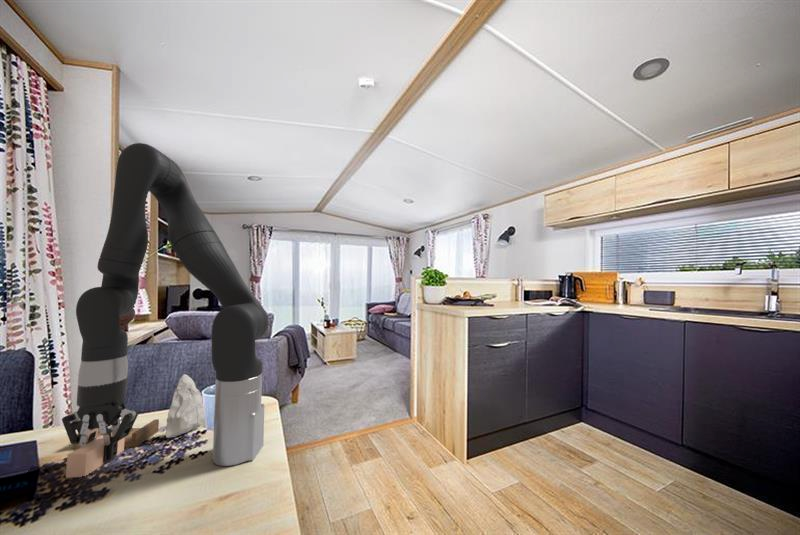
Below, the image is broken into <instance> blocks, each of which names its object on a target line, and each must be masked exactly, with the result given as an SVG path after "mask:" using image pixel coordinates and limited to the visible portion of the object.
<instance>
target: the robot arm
mask: <svg viewBox="0 0 800 535" xmlns="http://www.w3.org/2000/svg"><path fill="white" fill-rule="evenodd" d="M115 170H116V171H115V177H114V178H115V181H114V188H113V197H112V207H111V208H112V209H111V215H110V220H109V221H110V222H109V227H108V230H107V235H106V238H105V241H104V243H103V246H102V250H101V252H100V256H99V258H98V262H97V270H98V271H99V272H100V273H101V274H102V280H101V286H97V287H92V288H88V289H87V290H86V291H84V292H83V293H82V294H81V295H80V297H79V298H78V300H77V303H76V307H75V316H76V321H77V325H78V329H79V334H80V336H81V338H82V344H81V356H80V358H81V359H80V366H79V370H78V374H77V376H78V378H77V392H76V393H77V394H76V406H77V407H78V409H77V411H75V412H72V413H70V414H68V415H66V416H63V417H62V419H61V421H62V424H63V427H64V429H65V431H66V435H67V438H68V440H69V442H70V444H72V445H73V444H74V443H79V445H80V446H84V445H85V444H87V443H89V442H91V441H93V440H94V439H96V437H97V434H98V430H99V429H100V435H103V440H104V444H105V446H104V454H103V463H105V464H107V463H110V462H111V461H112V460H113V459H115V458H116V456H118V455H117V448H118V441H119V440H121V439H123V438H124V437H126V436H127V435H129V433H130V431H131V428H133V427H132V426H134V424H135V422H136V420H137V418H138V416H139V413H140V411H139V409H134V410H131V409H127V407H126V404H125V398H126V396H127V390H128V389H127V388H128V371H129V363H128V346H129V344H128V340H129V337H128V336H129V335H128V333H127V331H126V330H123V329H122V328H121V327H122V326H121V317H123V316H125V315H126V314H128V313H129V312H130V311H132V309H133V308H134V306H135V305H136V303H137V299H138V295H139V286H140V271H141V269H142V265H143V263H144V258H145V256H146V252H147V250H148V244H149V232H148V226H147V219H146V202H147V197H148V194H149V193H151V194H152V196H153V197H154V198H155V199H156V201H157V202H158V204H159V205H160V207H161V208H162V210H163V211H164V213H165V215H166V219H167V234H168V236H167V237H168V240H169V244H170V245H171V247H172V249H173V251H174V252H175V254H176V256H177V258H178V260H179V261H180V263H181V264H182V265H183V267H184V268H185V270H186V271H188V273H190V275H192V276H193V278H195V279H196V280H197V281H198V282H199V283H201V284H202V285H203V286H205V288H207V289H208V290H209V291H210V292H211V293H212V294H213V295H214V296H215V298H216V299H217V300H218V302H219V303H220V305H221V307H222V308H221V309H220V310H219V311H218V312H217V313H216V315H215V317H214V319H213V322H212V326H211V327H212V328H211V363H212V366H213V369H214V371H215V388H214V390H215V391H214V392H215V393H214V414H213V440H212V441H213V442H212V443H213V444H212V462H213V463H214V465H216V466H221V467H222V466H223V467H229V466H234V465H235V466H236V465H240V464H242V463H244V462H247V461H254V459H255V458H256V456H257V455H258V454H259V452H260V450H261V449H262V448H263V447H264V435H265V433H264V431H265V403H262V393H263V392H262V391H263V390H262V389H263V387H262V384H263V361H262V359H261V358H258V357H257V355H256V341H257V340H259V339H261V338H262V337H263V336H265V334H266V333H267V331H268V329H269V325H270V324H269V322H270V321H269V317H268V316H269V315H268V314H267V311H266V310H265V308H264V307H263V306H262V304H261V303H260V301H259V300H258V299H257V298H256V296H255V295H254V293H253V292H252V291H251V290H250V288H249V287H248V286H247V284H246V282H245V281H244V279H243V277H242V276H241V274H240V273H239V271H238V269H237V267H236V264H234V261H232V258H231V257H230V255H229V253H228V251H227V249H226V247H225V246H224V244H223V243H222V241H221V239H220V237H219V236H218V234H217V233H216V231H215V230H214V228H213V227H212V225H211V223H210V222H209V220H208V218H207V216H206V215H205V213H204V212H203V210H202V209H201V207H200V206H199V205H198V202H197V201H196V199H195V197H194V195H193V193H192V191H191V188H190V186H189V184H188V182H187V179H186V176H185V175H184V173H183V171H182V169H181V167H180V166H179V165H178V164H177V163H176V162H175V161H174V160H172V159H171V158H170V157H169V156H167V155H166V154H164V153H162V151H160V150H158V149H157V148H155V147H154V146H152V145H150V144H147V143H141V142H139V143H138V142H137V143H132V144H130V145H127V146H126V147H125V148H124V149H123V150H122V151H121V153H120V154H119V156H118V160H117V163H116V169H115ZM120 417H121V418H120ZM111 433H112V437H111ZM77 434H79V435H78V436H77Z"/></svg>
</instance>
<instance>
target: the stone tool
mask: <svg viewBox="0 0 800 535" xmlns="http://www.w3.org/2000/svg"><path fill="white" fill-rule="evenodd" d="M201 393H202V392H200V390H199V389H197V387H196V383H195V381H194V380H193V379H192V377H190V376H189V375H187V374H185V373H184V374H182V376H181V377H180V378H179V381H178V383H177V386H176V387H175V390H174V392H173V396H172V399H171V405H170V408H169V410H168V413H167V418H166V426H165V438H167V439H171V438H176V437H177V436H181V435H183V434H188V433H189V432H190V431H192V430H196V429H197V428H200V427H201V426H202V425H203V423H204V421H205V419H204V417H205V412H204V411H205V409H204V408H205V406H204V407H203V404H204V397H203V396H202V394H201ZM202 397H203V398H202Z"/></svg>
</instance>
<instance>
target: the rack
mask: <svg viewBox="0 0 800 535" xmlns="http://www.w3.org/2000/svg"><path fill="white" fill-rule="evenodd" d="M159 425H160V419H153V420H152V421H150V422H149V423H146V424H145V425H144V426H142V427H135V428H134V427H133V426H134V425H133V426H132V428H131V431H130V433H129V435H127V436H126V437H125V441H124V448H131V447H138V446H140V444H142V443H144V442H145V441H146V440H148V439H149V438H151V437H153V436H154V435H155V434H157V433H158V432H159ZM78 435H79V434H78V433H77V436H78ZM100 436H101V435H100V429H99V430H98V434H97V437H96V438H98V437H100ZM80 447H82V446H80V445H79V443H74V444H72V450H76V449H78V448H80Z"/></svg>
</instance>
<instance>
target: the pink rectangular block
mask: <svg viewBox="0 0 800 535" xmlns="http://www.w3.org/2000/svg"><path fill="white" fill-rule="evenodd" d="M111 437H112V433H111ZM124 441H125V437H124V438H123V439H121V440H119V441H118V448H117V455H116V456H118V455H120V454H121V453H122V452H124V451H125V447H124ZM104 446H105V444H104V440H103V435H101V436H100V437H98V438H96V439H94V440H93V441H91V442H89V443H87V444H85V445H84V446H82V447H80V448H78V449H74V450H73V451H71V452H69V453H68V454H67V455H66V456H67V457H66V467H65V468H66V469H65V470H66V472H65V478H68V479H69V478H81V477H82V476H85V477H86V475H87V476H88V475H90V474H91V473H93V472H94V471H95V470H97V469H98V468H100V467H102V466H103V465H105V464H106V463H103V454H104ZM89 473H90V474H89ZM82 478H83V477H82Z"/></svg>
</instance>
